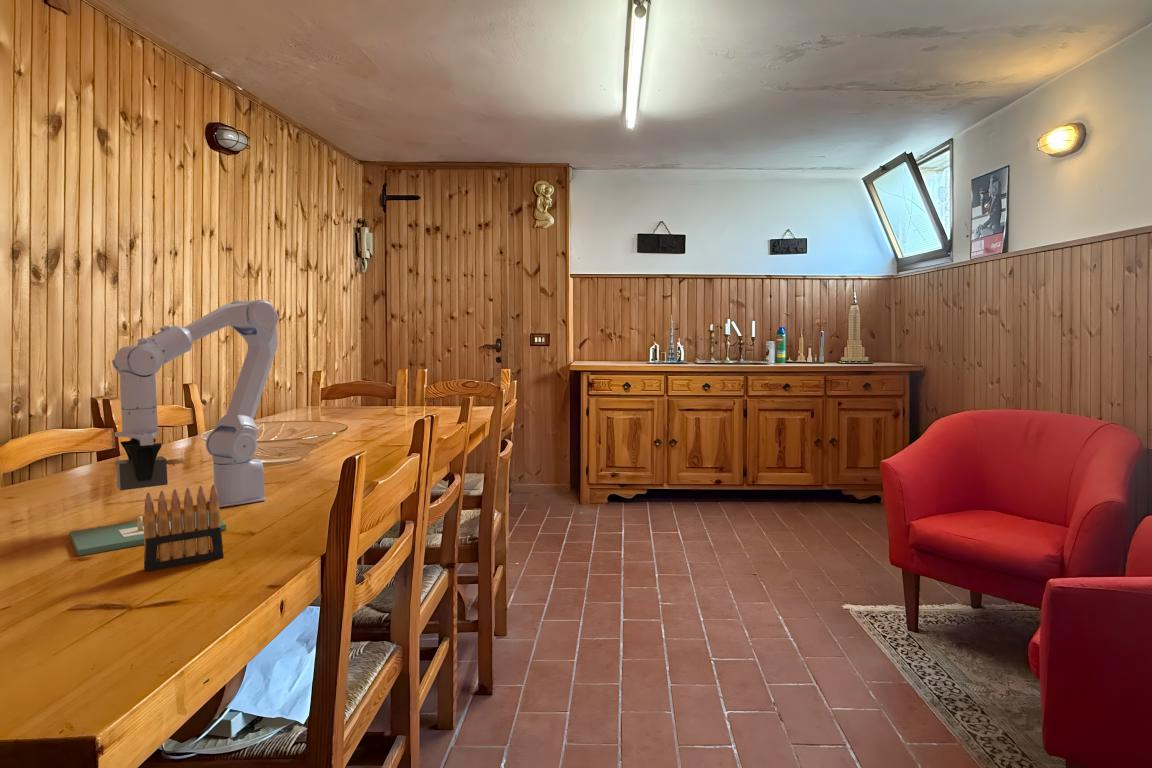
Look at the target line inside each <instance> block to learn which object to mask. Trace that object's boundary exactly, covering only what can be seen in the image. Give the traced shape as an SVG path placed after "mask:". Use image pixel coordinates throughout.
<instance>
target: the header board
mask: <svg viewBox="0 0 1152 768" xmlns="http://www.w3.org/2000/svg"><path fill="white" fill-rule="evenodd" d="M194 513H195V528H196V511H194ZM207 513H208V526H209V509H207ZM181 514H182V523H183V513H181ZM170 516H171V515H169V523H170ZM157 517H158V513H156V517H155V518H156V529H157ZM220 522H221V532H224V531H227V524H226V523H225V522H223V521H222V520H221V519H220ZM183 530H184V529H183ZM170 532H171V528H170ZM69 538H70V541H71V543H72V545H73V547H74V550H75V551H76V554H77V555H78V557H81V556H87V555H92V554H98V553H103V552H108V551H109V552H111V551H114V550H120V549H125V548H131V547H136V546H142V545H144V517H143V516H142V515H141V516H137V517H136V520H134V521H127V522H123V523H122V522H121V523H115V524H109V525H103V526H101V525H100V526H95V527H90V528H88V527H87V528H84V529H83V528H82V529H77V530H70V531H69Z"/></svg>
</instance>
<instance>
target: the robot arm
mask: <svg viewBox="0 0 1152 768" xmlns="http://www.w3.org/2000/svg"><path fill="white" fill-rule="evenodd" d="M279 319H280V316H279V314H278V312H277V310H276V309H275V307H274V306H273V304H272V303H271V302H270V301H268V300H266V299H263V298H262V299H261V298H260V299H256V300H234V301H232V302H230V303H227V304H222V305H221V306H220V307H218V308H216V309H214V310H213V311H211V312H209V313H207V314H205V315H203V316H202V317H200V318H198V319H196V320H195V321H192V322H191V323H189V324H186V325H185V326H184V327H181V326H177V325H171V326H170V325H164V326H161V327H160V328H159V330H160V331H159V332H157V333H154V334H152V335H150V336H148V337H146V338H145V337H140V338H138V339H137V341H136V342H137V343H136V345H134V344H133V345H130V344H129V345H125V346H123V347H121V348H120V349H118V351H117V352H116V353H115V355H114V359H112V360H111V364H112V366H113V368H114V370H115V371H116V372H117V373H118V374H119V392H120V394H119V395H120V413H121V431H116V432H114V437H117V438H120V437H122V438H128V439H130V440H123V441H120V442H119V443H120V444H121V446H122V448H123V449H124V451H125V453H126V456H127V460H129V459H132V461H133V464H134V468H135V473H136V477H137V479H138V481H146V480H151V479H152V475H153V470H154V464H155V460H156V457H158V454H159V452H160V450H161V448H162V446H163V445H162V443H161V442H158V443H157V442H156V441H157V439H156V438H154V437H156V436H158V435H160V429H159V427H158V425H159V423H158V407H157V406H158V404H157V402H158V401H157V384H156V382H157V381H156V380H157V379H156V374H157V373H158V371H160V370H161V368H162V366H163V365H165V364H167V363H169V362H171V361H173V360H174V359H177V358H178V357H180V356H182V355H184V354H185V353H187V352H190V351H191V350H192V347H193V345H194V344H193V343H194V342H195V341H197V340H200V339H202V338H204V337H206V336H209V335H210V334H212V333H214V332H215V333H216V332H217V331H219V330H221V329H223V328H226V327H231V328H232V329H234V330H235V331H236V333H238V334H239V335H240V336H241V337H242V338H243V339H244V341H245V342H246V343H247V346H248V348H247V351H246V352H247V353H246V354H245V355H246V356H245V357H244V361H243V363H242V367H241V370H240V373H239V374H238V375H239V376H238V377H237V378H238V379H237V381H236V385H235V388H234V390H233V393H232V396H231V398H230V399H231V400H230V402H229V404H228V407H227V408H228V409H227V412H226V414H225V415H224V416H222V417H221V418H220V419H219V420H218V421H217V422H216V424H215V427H214V429H213V430H212V431H211V432H210V433H209V434H208V435H207V437H206V440H205V449H206V451H207V452H208V454H209V455H211V456H212V465H213V466H212V467H213V469H212V470H213V485H215V487H216V490H217V494H218V503H219V508H223V507H231V506H236V505H244V504H249V503H257V502H263V501H266V500H267V499H266V497H265V496H266V494H265V493H266V492H265V472H264V471H265V470H264V465H263V462H262V460H261V459H260V458H253V457H254V456H255V454H256V452H257V449H258V440H257V438H258V433H259V428H258V426H257V425H256V423H255V421H254V419H255V416H256V413H257V410H258V407H259V405H260V404H259V403H260V401H261V398H262V395H263V392H264V388H265V385H266V382H267V380H268V377H269V374H270V371H271V368H272V364H273V361H274V357H275V355H276V353H277V349H278V343H279V342H278V328H277V326H278V322H279ZM208 501H209V502H210V498H208Z"/></svg>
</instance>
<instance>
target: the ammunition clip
mask: <svg viewBox="0 0 1152 768" xmlns="http://www.w3.org/2000/svg"><path fill="white" fill-rule="evenodd" d="M159 492H160V493H159V495H158V500H157V501H158V502H157V514H158V517H157V516H155V506H154V500H153V498H152V497H153V496H152V495H151V493H150V492H149V491H148V492H147V493H146V495H145V499H144V517H143V520H144V546H143V547H144V548H143V549H144V553H143V554H144V555H143V557H144V558H143V559H144V561H143V565H144V566H143V569H144V572H146V573H149V572H153V571H154V572H155V571H159V570H160V571H161V570H164V569H170V568H177V567H181V566H186V565H193V564H197V563H203V562H208V561H216V560H219V559H223V558H225V557H224V548H223V546H224V545H223V535H222V531H221V522H220V520H221V510H220V507H219V503H218V494H217V490H216V487H215V485H214V484H212V485H211V487H210V491H209V499H210V501H209V509H207V501H206V494H205V491H204V488H203V487H202V485H200V486H199V487H198V490H197V495H196V511H195V510H194V503H193V495H192V492H191V489H190V487H186V489H185V492H184V496H183V513H182V509H181V501H180V496H179V493H178V491H177V489H176V488H174V489H173V491H172V494H171V500H170V505H171V507H170V515H169V512H168V511H169V510H168V502H167V497H166V494H165V492H164V491H163V490H161V491H159ZM207 510H208V511H209V526H208V513H207ZM194 512H196V528H195V513H194ZM182 514H183V523H182ZM169 516H170V523H169ZM156 518H157V529H156ZM170 528H171V532H170ZM183 529H184V530H183Z"/></svg>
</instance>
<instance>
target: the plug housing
mask: <svg viewBox="0 0 1152 768" xmlns="http://www.w3.org/2000/svg"><path fill="white" fill-rule="evenodd" d="M184 463H185V460H184V458H172V459H167V458H166V457H164V456H162V455H160V456H157V457H156V460H155V464H154V470H153V475H152V479H151V480H146V481H138V479H137V477H136V473H135V468H134V464H133V461H132V459H121V460H119V459H118V460H115V466H116V467H115V468H116V485H117V486H116V487H117V488H118V489H119V490H120V491H121V492H122V491H126V490H127V491H128V490H134V489H135V490H137V489H143V488H153V487H158V486H159V487H161V486H166V485H168V465H169V466H170V465H177V464H178V465H180V464H184Z"/></svg>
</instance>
